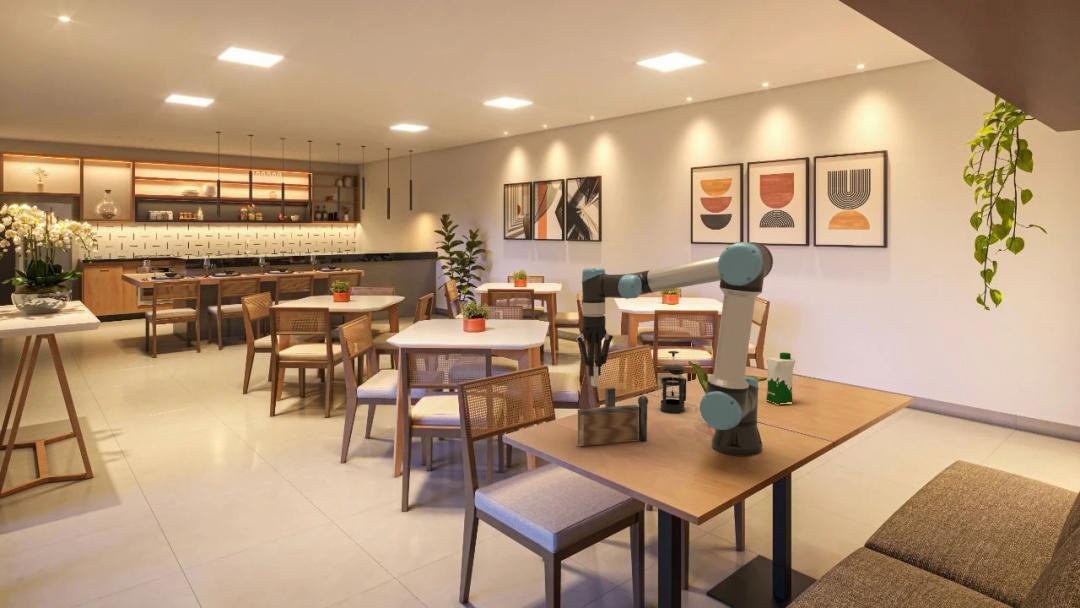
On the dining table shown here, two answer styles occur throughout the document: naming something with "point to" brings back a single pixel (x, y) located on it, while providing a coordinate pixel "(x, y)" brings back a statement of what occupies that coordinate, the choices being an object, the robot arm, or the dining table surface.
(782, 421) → the dining table surface
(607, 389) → the latch post
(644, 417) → the gate post
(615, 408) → the gate
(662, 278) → the robot arm
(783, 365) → the milk carton
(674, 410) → the french press
